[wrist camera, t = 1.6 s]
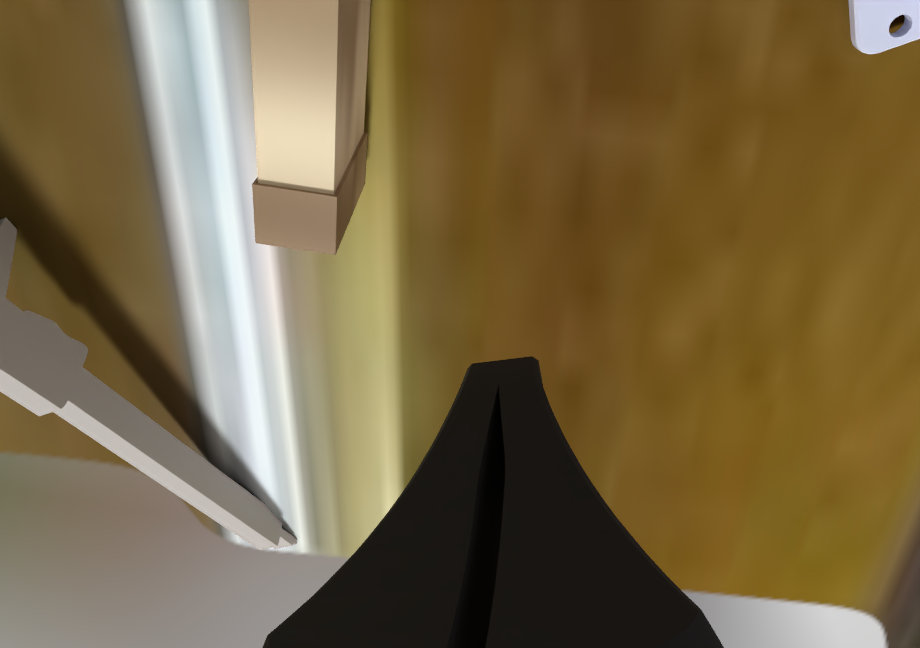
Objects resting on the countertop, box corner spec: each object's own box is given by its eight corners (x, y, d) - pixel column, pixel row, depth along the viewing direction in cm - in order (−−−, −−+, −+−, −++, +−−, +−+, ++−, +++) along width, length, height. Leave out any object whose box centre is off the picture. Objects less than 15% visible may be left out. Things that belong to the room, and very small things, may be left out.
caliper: (-55, 178, 22) (-225, 283, 17) (-31, 166, 21) (-198, 270, 16) (281, 539, 32) (239, 669, 27) (300, 535, 32) (261, 666, 27)
